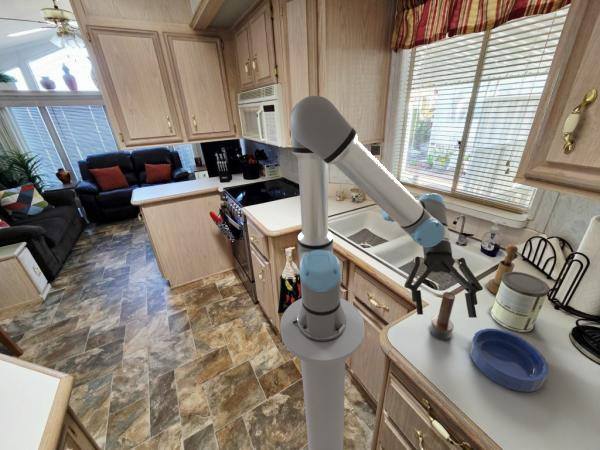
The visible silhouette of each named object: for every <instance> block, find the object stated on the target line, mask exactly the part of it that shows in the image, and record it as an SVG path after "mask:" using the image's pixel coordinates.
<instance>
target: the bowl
mask: <svg viewBox="0 0 600 450" xmlns="http://www.w3.org/2000/svg"><path fill="white" fill-rule="evenodd" d="M470 343H471V344H470V347H469V354H470V358H471V359H472V361H473V363H474V364H475V366H476V367H477V368H478V369H479V371H480V372H482V374H484V375H485V376H487V377H488V378H489V379H490V380H491V381H493V382H495V383H497V384H499V385H500V386H502V387H505V388H507V389H510V390H514V391H516V392H523V393H524V392H525V393H531V392H534V391H538V390H539V389H540V388H541V387H542V386H543V384H544V383H545V381H546V379H547V377H548V375H549V364H548V362H547V360H546V358H545V357H544V355H543V354H542V353H541V352H540V351H539V350H538V349H537V348H536V347H535V346H533V345H532V344H531V343H530V342H528V341H527V340H525V339H523V338H522V337H520V336H519V335H516V334H515V333H511V332H509V331H506V330H502V329H498V328H483V329H479V330H478V331H476V332H475V333H474V335H473V337H472V340H471V342H470Z"/></svg>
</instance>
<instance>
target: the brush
mask: <svg viewBox="0 0 600 450" xmlns="http://www.w3.org/2000/svg"><path fill="white" fill-rule="evenodd" d="M455 299H456V296H455V294H453V293H452V292H449V291H445V292H443V294H442V298H441V302H440V307H439V313H438V315H434V316H433V317H432V318H431V322H430V323H431V325H430V333H431V334H432V336H434V337H435V339H439V340H441V341H447V340H449V339H450V338H451V335H452V332H453V331H454V328H455V325H454V322H453V321H452V320H451V316H452V311H453V308H454V307H453V306H454V304H455V301H456V300H455Z"/></svg>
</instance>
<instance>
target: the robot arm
mask: <svg viewBox="0 0 600 450" xmlns="http://www.w3.org/2000/svg"><path fill="white" fill-rule="evenodd" d="M289 127H290V140H291V151H292V152H291V153H292V154H293V155H294V156H295V157H296V158H297V165H298V183H299V184H298V185H299V186H298V187H299V203H300V217H301V218H300V220H301V231H300V233H299V234H298V235H297V253H298V263H299V267H298V273H299V278H300V291H301V292H300V293H301V298H302V305H301V308H300V311H299V314H298V320H296V321H293V324H295V323H297V322H298V327H299V330H300V332H301V333H302V334H303V335H304V336H305V337H306V338H308V339H310V340H312V341H315V342H330V341H333V340H335V339H337V338H339V337H340V336H341V335H342V334H343V332H344V331H345V328H346V316H345V313H344V311H343V308H342V306H341V304H340V298H341V286H342V285H341V280H342V267H341V266H342V265H341V262H340V259H339V258H338V257H337V255H335V254H334V235H333V233H332V232H331V231H330V230H329V165H334V166H335V167H336V168H337V169H338V170H339V171H341V172H342V173H343V174H344V175H345V176H346V178H347V179H349V180H350V181H351V182H353V184H354V185H355V186H356V187H357V188H358V189H360V190H361V191H362V192H363V193H364V194H365V195H366V196H367V197H368V198H369V199H370V200H371V201H373V202H374V203H375V204H376V205H377V206H378V207H379V208H380V209H381V215H382V219H383V220H384V221H386V222H391V223H396V224H397V225H398V226H399V227H400V228H401V229H402V230H403V231H404V232H405V233H406V234H408V236H409V237H410V238H411V239H412V240H413V241H414V242H415V243H416V244H418V245H420V246H421V247H422V250H423V257H420V256H416V257H413V259H412V267H411V269H410V271H409V273H408V276H407V278H406V280H405V283H404V285H403V287H404V288H405V289H408V290H410V291H411V299H412V303H415V306H416V314H417V315H421V316H422V315H424V309H423V301H422V292H421V289H419V287H421V285H422V284H423V283H424V282H425V280H426V279H427V278H428V276H429V275H430V274H431V273H433V274H441V275H442V274H448V276H450V277H451V278H452V279H454V280H455V281H456V283H458V284H459V286H461V287H462V288H463V289H464V290H465V291H466V292H465V293H464V297H465V303H466V309H467V315H468V316H467V317H468V318H475V319H476V318H478V316H477V309H476V306H478V298H477V293H478V292H481V291H483V289H484V288H483V286H482V284H481V283H480V282H479V280H478V279H477V278H476V276H475V274H474V273H473V271H471V268H470V267H469V265H468V264H467V261H466V259H465V258H464V257H460V258H454V257H453V250H452V244H451V242H450V241H451V238H450V231H449V226H448V218H447V211H446V205H445V200H444V197H443V196H442V195H441V194H439V193H426V194H423V195H421V196H420V197H418V199H416V198H415V197H414V196H413V194H411V193H410V192H409V191H408V190H407V188H405V187H404V186H403V184H401V183H400V181H398V179H396V177H394V175H393V174H391V172H390V171H388V169H387V168H386V167H385V166H384V165H383V164H382V163H381V162H380V161H379V160H378V159H377V158H376V157H375V156H374V155H373V154H372V153H371V151H370V150H368V149H367V148H366V147H365V146H364V145H363V144H362V143H361V142H360V141H359V139H358V132H357V131H356V129H354V128H353V127H352V125H351V124H350V123H349V122H348V120H346V118H345V117H344V116H343V115H342V113H341V112H340V111H339V109H338V107H336V106H335V104H334V103H333V102H331V101H330V100H329V99H328V98H326V97H324V96H321V95H310V96H307V97H304V98H302V99H301V100H299V102H297V103H296V104H295V105H294V107H293V108H292V110H291V112H290V115H289ZM422 264H424V265H425V269H424V270H423V272H422V273H421V275H420V276H418V278H417V279H416V280H415V282H414V279H415V277H416V275H417V273H418V271H419V268H420V266H421V265H422ZM454 265H456V266H457V267H458V269H459V271H460V272H461V273H459V272H458V270H457V269H456V268H455V266H454ZM461 274H462V275H461ZM413 282H414V283H413Z"/></svg>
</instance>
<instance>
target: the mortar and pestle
mask: <svg viewBox="0 0 600 450" xmlns="http://www.w3.org/2000/svg"><path fill="white" fill-rule="evenodd" d="M518 251H519V249H518V247H517V246H516V245H515V244H508V245H507V246H506V247H505V253H506V255H505V256H504V260H500V261H499V263H498V267H497V270H496V273H495V276H494V278H491V279H489V280H488V282H487V285H486V288H487V289H488V290H489V292H491V293H493V294H495V295H497V293H498V289H499V286H500V283H501V280H502V276H503V274H504V273H506V272H514V271H513V270H514V268H515V263H513V261H514V255H516V254H517V253H518Z"/></svg>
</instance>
